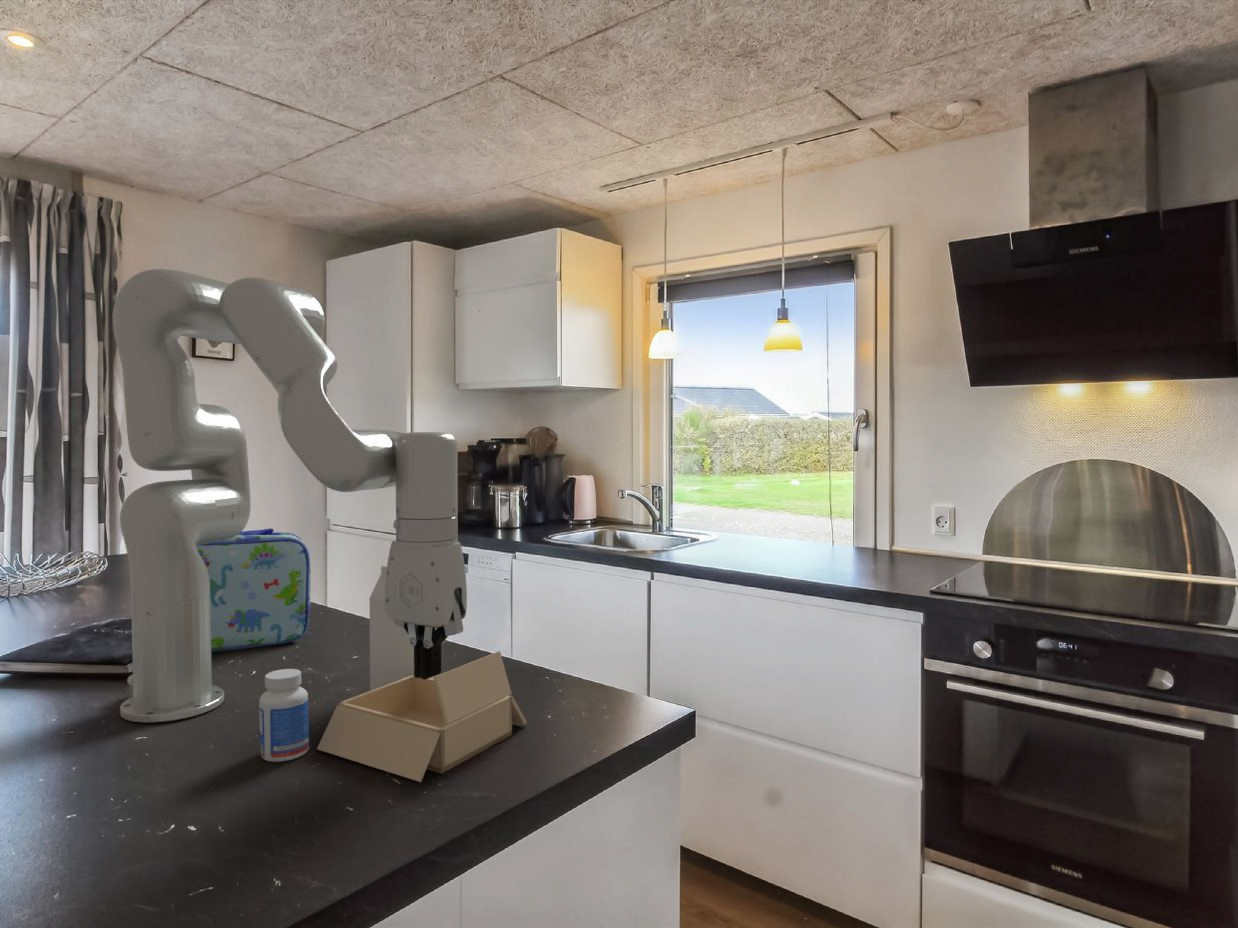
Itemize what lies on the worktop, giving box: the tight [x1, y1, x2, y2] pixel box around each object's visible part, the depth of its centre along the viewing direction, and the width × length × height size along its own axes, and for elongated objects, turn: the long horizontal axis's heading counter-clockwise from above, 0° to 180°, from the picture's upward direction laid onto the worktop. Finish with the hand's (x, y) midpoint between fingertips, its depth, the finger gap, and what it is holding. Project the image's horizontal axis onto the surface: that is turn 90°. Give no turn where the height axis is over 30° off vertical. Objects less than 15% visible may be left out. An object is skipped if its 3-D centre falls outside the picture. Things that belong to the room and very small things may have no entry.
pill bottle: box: [258, 668, 310, 763], centre depth 93 cm, size 6×5×10 cm
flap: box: [433, 650, 512, 724], centre depth 93 cm, size 1×12×6 cm, turn 150°
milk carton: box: [369, 565, 437, 691], centre depth 113 cm, size 7×7×19 cm
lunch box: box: [196, 527, 312, 653], centre depth 138 cm, size 26×11×21 cm, turn 120°
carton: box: [316, 675, 528, 783], centre depth 98 cm, size 20×20×5 cm
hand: (427, 675), depth 97 cm, fingers closed
